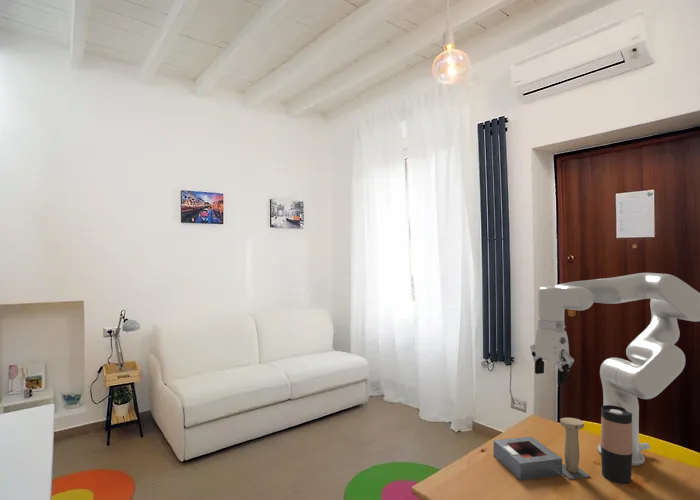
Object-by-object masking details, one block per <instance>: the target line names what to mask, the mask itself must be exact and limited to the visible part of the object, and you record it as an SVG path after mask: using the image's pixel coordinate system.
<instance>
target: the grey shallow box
mask: <svg viewBox="0 0 700 500" xmlns="http://www.w3.org/2000/svg"><path fill="white" fill-rule="evenodd" d="M524 454H529V455H531V456H532V457H528V458H524V457H522V456H521V455H524ZM493 457H494V458H495V459H497V460H498V461H499V462H500V463H501V464H502V465H503V466H504V468H506V469H507V470H508V471H509V472H511V474H513V476H515V477H516V478H517V479H518V480H519V481H520V482H521V481H529V480H535V479H544V478H551V477H552V478H553V477H561V476H563V474H562V464H563V458H562V457H561V456H559V455H558V454H556V453H555V452H554V451H553V450H551V449H550V448H548V447H547V446H546V445H544V444H543V443H541V442H540V441H539V440H538V439H536V438H534V437H533V436H531V435H530V436H523V437H522V436H520V437H513V438H506V439H504V438H503V439H502V438H501V439H494V440H493Z"/></svg>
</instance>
